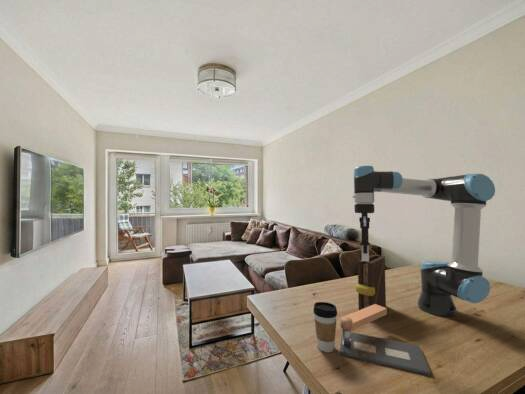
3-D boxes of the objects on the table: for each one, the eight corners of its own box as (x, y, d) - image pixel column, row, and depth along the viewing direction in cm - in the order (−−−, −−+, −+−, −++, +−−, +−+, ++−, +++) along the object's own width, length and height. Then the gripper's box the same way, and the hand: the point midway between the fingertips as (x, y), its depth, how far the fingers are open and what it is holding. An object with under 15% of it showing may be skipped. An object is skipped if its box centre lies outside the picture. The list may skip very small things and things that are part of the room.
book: (371, 301, 122) (370, 254, 123) (389, 306, 116) (388, 256, 117) (353, 316, 107) (352, 261, 107) (372, 322, 101) (371, 265, 101)
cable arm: (375, 309, 98) (375, 302, 98) (386, 314, 94) (386, 307, 94) (337, 325, 85) (336, 318, 85) (348, 332, 81) (348, 323, 81)
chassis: (419, 348, 82) (418, 330, 83) (430, 375, 70) (429, 353, 70) (342, 333, 92) (342, 316, 93) (339, 354, 80) (339, 335, 80)
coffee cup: (310, 340, 88) (310, 300, 88) (332, 339, 88) (331, 299, 89) (318, 355, 79) (317, 311, 80) (341, 353, 80) (341, 309, 80)
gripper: (354, 203, 103) (355, 256, 102) (354, 203, 91) (355, 263, 90) (373, 203, 100) (374, 258, 99) (375, 203, 88) (376, 265, 87)
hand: (365, 260), depth 95 cm, fingers closed
